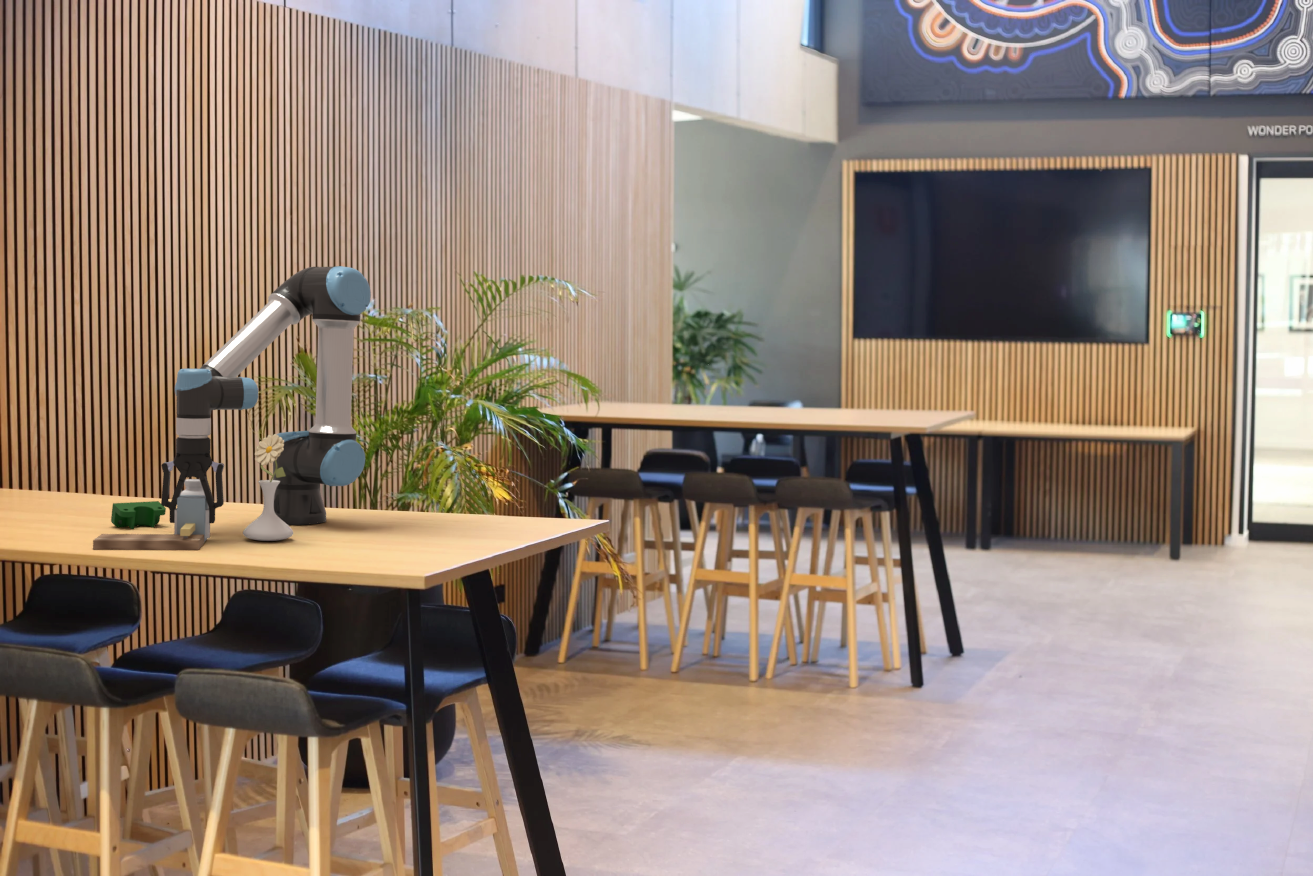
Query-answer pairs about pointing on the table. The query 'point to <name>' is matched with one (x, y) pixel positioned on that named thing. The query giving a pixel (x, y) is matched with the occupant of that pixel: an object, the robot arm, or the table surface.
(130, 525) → the clamp
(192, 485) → the supplement bottle
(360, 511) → the table surface
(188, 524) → the pale blue upright panel
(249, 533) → the flower in vase
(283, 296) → the robot arm
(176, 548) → the board
